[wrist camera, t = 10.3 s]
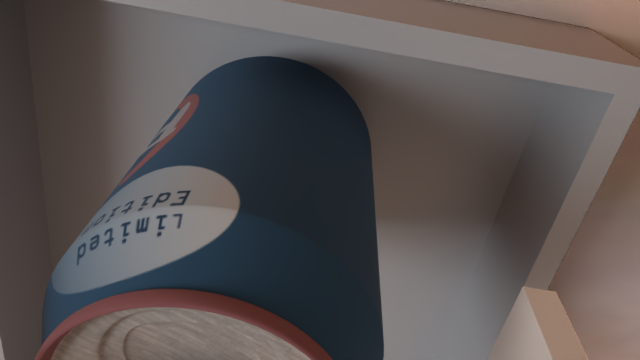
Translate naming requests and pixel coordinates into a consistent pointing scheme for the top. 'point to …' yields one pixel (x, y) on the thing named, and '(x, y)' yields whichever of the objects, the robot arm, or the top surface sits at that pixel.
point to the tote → (381, 119)
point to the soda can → (232, 232)
